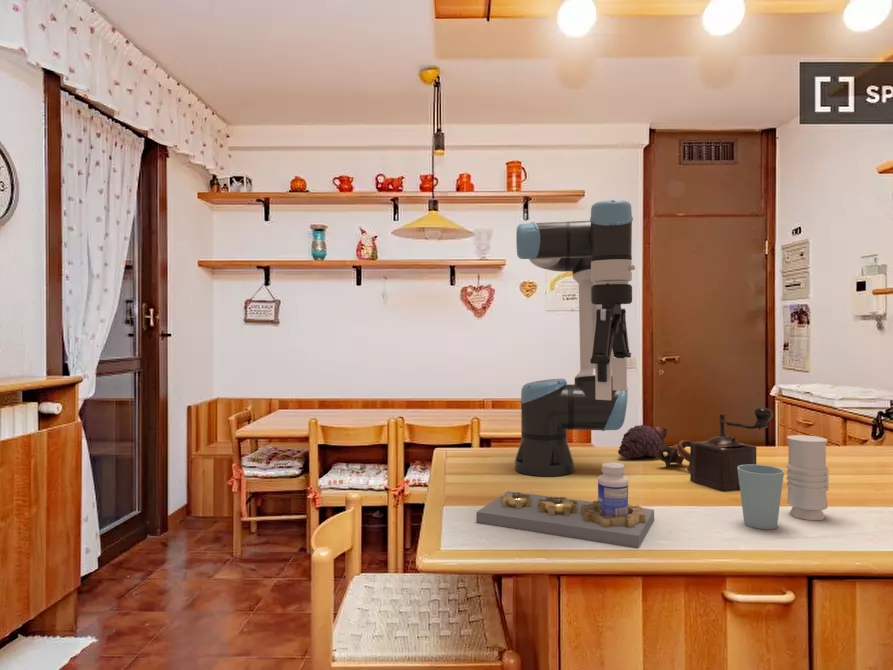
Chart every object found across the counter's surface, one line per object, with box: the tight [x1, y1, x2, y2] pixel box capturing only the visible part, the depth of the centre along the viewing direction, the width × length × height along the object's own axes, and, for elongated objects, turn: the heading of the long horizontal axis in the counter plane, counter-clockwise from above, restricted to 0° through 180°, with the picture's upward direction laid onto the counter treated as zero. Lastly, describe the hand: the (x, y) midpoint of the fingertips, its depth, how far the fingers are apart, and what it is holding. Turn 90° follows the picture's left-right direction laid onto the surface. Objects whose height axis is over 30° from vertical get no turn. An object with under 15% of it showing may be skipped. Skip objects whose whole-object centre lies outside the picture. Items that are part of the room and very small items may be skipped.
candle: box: [786, 434, 829, 521], centre depth 117 cm, size 7×7×15 cm
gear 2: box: [581, 500, 647, 528], centre depth 111 cm, size 12×12×1 cm
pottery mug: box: [656, 439, 693, 473], centre depth 156 cm, size 12×10×8 cm
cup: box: [737, 464, 785, 530], centre depth 112 cm, size 8×8×10 cm
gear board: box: [476, 490, 655, 549], centre depth 115 cm, size 30×16×2 cm, turn 62°
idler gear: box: [499, 491, 532, 509], centre depth 119 cm, size 6×6×2 cm
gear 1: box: [538, 496, 578, 516], centre depth 116 cm, size 8×8×2 cm
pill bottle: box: [597, 461, 629, 516], centre depth 110 cm, size 5×5×10 cm
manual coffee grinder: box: [689, 406, 774, 492], centre depth 141 cm, size 16×11×18 cm
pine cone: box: [617, 424, 669, 460], centre depth 170 cm, size 18×10×10 cm
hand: (612, 394), depth 115 cm, fingers open, 13 cm apart
